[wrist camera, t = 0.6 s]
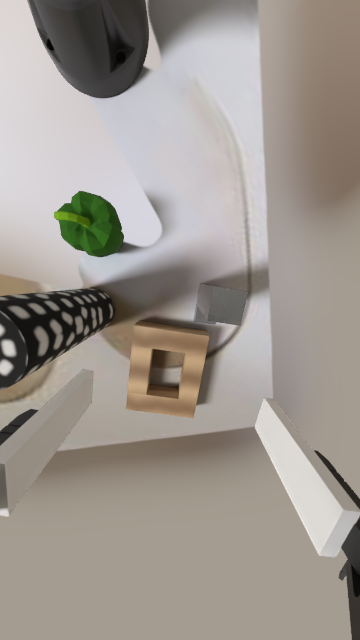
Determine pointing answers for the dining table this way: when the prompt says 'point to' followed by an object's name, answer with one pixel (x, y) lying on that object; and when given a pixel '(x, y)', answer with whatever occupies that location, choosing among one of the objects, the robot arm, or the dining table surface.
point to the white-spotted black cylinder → (47, 327)
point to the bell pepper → (90, 225)
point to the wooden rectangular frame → (141, 363)
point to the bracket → (220, 305)
